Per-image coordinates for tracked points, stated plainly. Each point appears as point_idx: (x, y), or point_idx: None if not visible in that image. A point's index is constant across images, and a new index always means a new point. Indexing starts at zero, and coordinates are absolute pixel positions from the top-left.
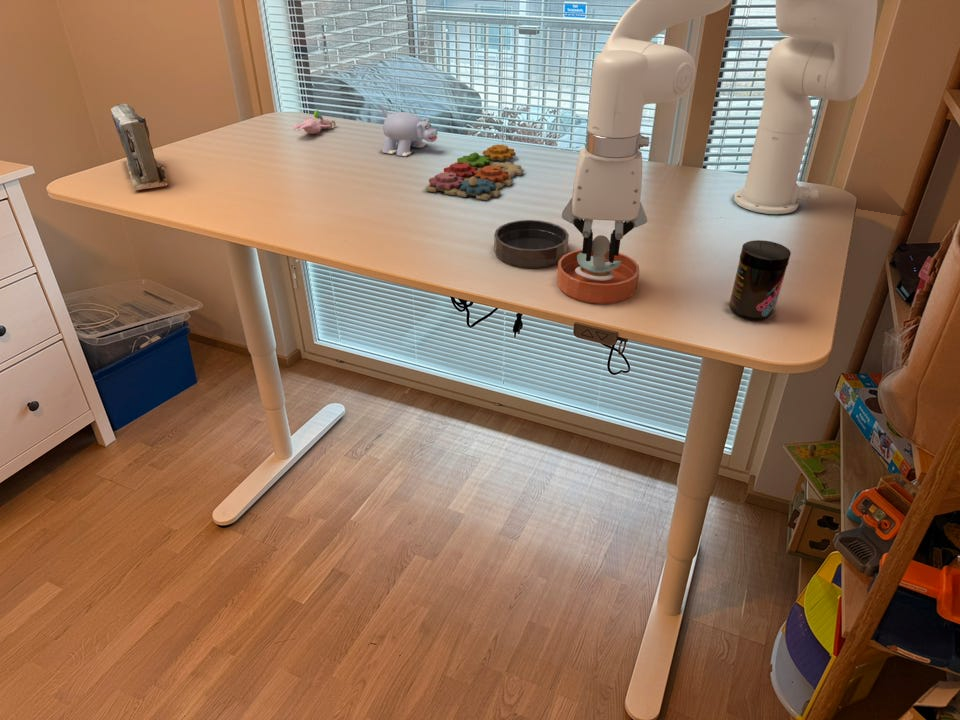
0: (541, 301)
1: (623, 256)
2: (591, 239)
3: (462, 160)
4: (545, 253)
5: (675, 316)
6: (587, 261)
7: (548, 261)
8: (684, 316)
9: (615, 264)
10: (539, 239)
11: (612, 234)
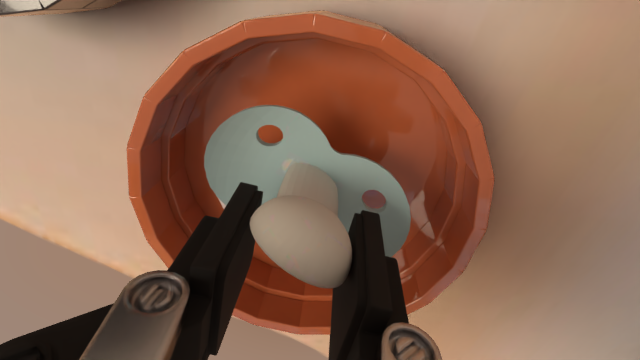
0: (131, 242)
1: (461, 124)
2: (208, 353)
3: None
4: (57, 9)
5: (485, 343)
6: (266, 148)
7: (107, 2)
8: (509, 345)
9: (383, 211)
10: None
11: (359, 323)
